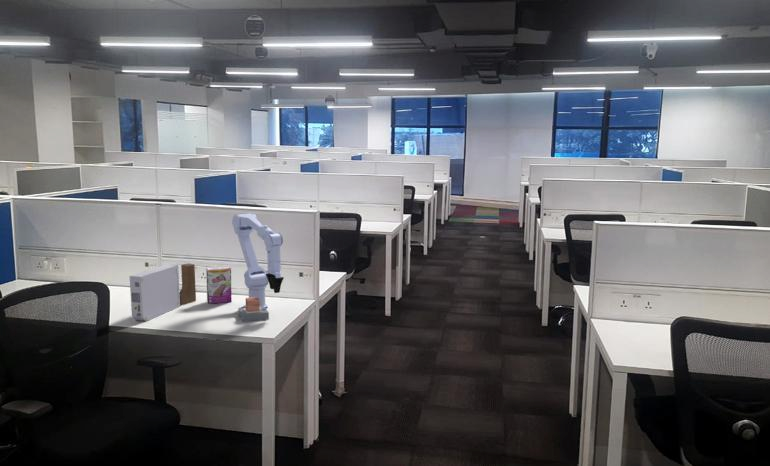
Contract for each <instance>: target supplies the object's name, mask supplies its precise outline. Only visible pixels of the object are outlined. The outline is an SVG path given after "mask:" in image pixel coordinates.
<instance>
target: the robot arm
mask: <svg viewBox="0 0 770 466" xmlns="http://www.w3.org/2000/svg"><path fill="white" fill-rule="evenodd" d="M231 224H232V226H233V227H232V228H233V230H234V233H235V235H237V238H238V242H239V244H240V248H241V250H242V255H243V258H244V260H245V264H246V267H247V269H246V271H245V272H244V273H243V277H244V284H245V286H246V288H247V289H248V298H251V297H258V299H259V304H260V306H264V307H265V309H267V308H268V305H267V304H266V288H267V286H268V285H269V288H270V290H273V292H274V294H276V293H277V294H279V293H280V292H281V288H282V287H281V286H282V284H283V282H284V276H281V273H282V263H281V260H282V259H281V255H282V254H281V246H282V245H283V243H284V238H283V235H282V234H281V232H275V231H274V230H272V229H271V228H270V227H269V226H268V224H267V225H263V224H262V223H261V222H260V221H259V220H258V218H257V215H256V214H255V213H254V212H250V213H243V214H241V213H239V214H234V215H233V217H232V222H231ZM253 231H256V234H257V236H258V237H259V238H260V239H262V240H263V243H264V245H265V250H266V251H267V253H266V254H267V270H266V269H265V268H264V267H262V266H260V265H259V262H258V259H257V256H256V253H255V248H254V246H253V244H252V243H253V242H252V240H251V236H250V234H252V233H253Z"/></svg>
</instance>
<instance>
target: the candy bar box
mask: <svg viewBox="0 0 770 466" xmlns="http://www.w3.org/2000/svg"><path fill="white" fill-rule="evenodd" d="M205 270H206V272H205V274H206V302H207V304H221V303H223V304H225V303H231V302H232V301H233V300H232V269H231V266H223V267H220V266H219V267H206V269H205Z"/></svg>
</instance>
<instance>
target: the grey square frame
mask: <svg viewBox="0 0 770 466" xmlns="http://www.w3.org/2000/svg"><path fill="white" fill-rule="evenodd" d="M237 309H238V316H239V318H240V319H241V321H242V322H243V323H245V322H255V321H263V320H269V319H270V318H269V317H270V313H269V311H268V310H267V308H265V307H264V306H260V311H254V312H248V311H247V310H246V307H239V308H237Z"/></svg>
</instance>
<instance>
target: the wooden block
mask: <svg viewBox="0 0 770 466" xmlns="http://www.w3.org/2000/svg"><path fill="white" fill-rule="evenodd" d="M180 265H181V270H180V271H181V289H180V290H179V292H180V306H183V305H186V304H190V303H193V302H196V301H197V293H196V292H197V289H196V269H195V265H196V264H194V263H184V264H180Z"/></svg>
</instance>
